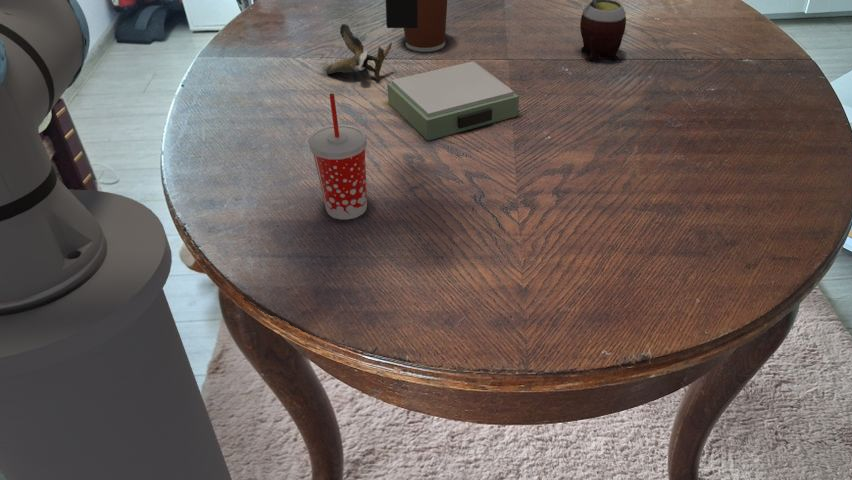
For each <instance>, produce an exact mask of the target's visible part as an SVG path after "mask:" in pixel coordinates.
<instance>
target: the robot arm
mask: <svg viewBox="0 0 852 480" xmlns="http://www.w3.org/2000/svg"><path fill="white" fill-rule="evenodd" d="M385 21H386V22H385V23H386V24H385V26H386V29H404V28H418V10H417V0H385ZM89 28H90V27H89V24H88V20H87V17H86V15H85V13H84V10H83V9H82V6H81V5H80V3H79V2H78V0H0V316H3V315H10V314H15V313H20V312H24V311H28V310H31V309H34V308H37V307H40V306H43V305H46V304H48V303H51V302H53V301H55V300H57V299H59V298H61V297H63V296H65V295H67V294H69V293H70V292H72V291H74V290H75V289H77V288H78V287H80V286H81V285H82V284H84V283H85V282H86V281H87V280H88V279H90V278H91V277H92V276H93V275H94V274H95V273H96V271H97V270H98V269H99V268H100V266H101V265H102V263H103V261H104V259H105V257H106V254H107V241H106V238H105V236H104V233H103V231H102V229H101V226H100V225H99V223H98V222H97V220H96V219H95V217H94V216H93V215H92V214H91V213H90V212H89V211H88V210H87V209H86V208H85V207H84V206H83V205H82V203H81V202H80V201H79V200H78V199H77V198H76V195H75V193H74V190H75V189H73V188H71V189H68V188H67V186H66V185H64V183H63V182H62V181H61V180H60V178H59V176H58V175H57V173H56V171H55V168H54V165H53V163H52V161H51V160H52V159H51V158H50V155H49V154H48V151H47V148H46V146H45V144H44V142H43V139H42V137H41V135H40V131H39V127H40V126H41V125H42V123H43V122H44V120H45V119H46V118H47V117H48V115H49V114H50V112H51V111H52V110H53V109H54V107H55V106H56V105H57V103H58V101H60V98H62V96H63V94H64V93H65V92H66V91H67V89H69V88H70V87H72V86H73V84H75V82H76V81H77V79H78V78H79V77H80V75H81V72H82V71H83V68H84V66H85V65H84V64H85V61H86V60H87V57H88V54H89V49H90V44H91V39H90V38H91V36H90V29H89Z"/></svg>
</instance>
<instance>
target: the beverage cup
mask: <svg viewBox="0 0 852 480" xmlns="http://www.w3.org/2000/svg"><path fill="white" fill-rule="evenodd" d="M329 102H330V109H331V116H332V124H331V125H325V126H322V127H319V129H316V130H314V131H313V132H312V133H311V134H310V135H309V137H308V140H307V143H308V145H309V146H308V148H309V150H310V152H311V153H312V155H313V159H314V163H315V167H316V172H317V177H318V180H319V181H318V182H319V185H320V189H321V194H322V198H323V202H324V207H325V211H326V213H327V215H328V216H330V217H331V218H333V219H336V220H351V219H356V218H359V217H361V216H362V215H363V214H364V213H366V211H367V207H368V198H367V197H368V196H367V195H368V193H367V170H366V165H367V164H366V148H367V144H368V141H367V139H368V138H367V134H366V133H365V131H364V130H363V129H361V128H360V127H358V126H355V125H350V124H339V122H338V113H337V106H336V98H335V93H329Z"/></svg>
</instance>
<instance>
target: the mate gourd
mask: <svg viewBox="0 0 852 480" xmlns="http://www.w3.org/2000/svg"><path fill="white" fill-rule="evenodd" d="M626 17H627V16H626V11H625V8H624V7H623V5H622V4H621V3H620V2H618V1H616V0H590V1H589V2H588V3H587V4H586V5H585V7H584V8H583V10H582V13H581V17H580V23H579V26H580V27H579V28H580V29H579V30H580V36H581V39H582V46H581V52H582V53H586V54H590V56H589V58H588V62H591V63H593V62H595V61H596V60H598V59H599V58H605V59H608V60H612V61H617V60H618V58H619V56H618V55H617V54H618V52H619V49H620V47H621V44H622V41H623V37H624V34H625V31H626V26H627V18H626Z"/></svg>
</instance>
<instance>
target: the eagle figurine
mask: <svg viewBox="0 0 852 480" xmlns="http://www.w3.org/2000/svg"><path fill="white" fill-rule="evenodd" d="M339 29H340V31H339V34H340V35H341V38H342V40H343V41H344V44H345V46H346V47H347V49H348V50H349V51H351V53H353V55H354V56H352V57H348V58H341V59H337V61H335V62H334V63H333V65H330V66H329V67H327V69H326V74H328V75H330V74H331V75H332V74H333V73H335V74H336V73H344V74H347V73H351V72H352V71H353V70H354V69H355V68H356V67H358V71H360V70H361V68H364V69H365V70H368V71H369V72H372V73H374V74H373V75H374V77H375V79H376V81H379V79H380V71H381V68H382V66H383V64H384V61H385V59H386V58H387V56H388V54H389V52H390V50H391V48H392V45H393V43H392V42H390V43H389V44H388V46H387V47H386V48H385V50H384V49H383V48H382V47H381V46H378V49H377V56H373V55H370V54H368V48H365V49H364V45H363V42H362V41H361V40H360V38H359V37H356V36H355V35H354V34H353V32H352V30H351V29H350V26H349V25H348V24H346V23H342V24H341V25H340V27H339ZM369 61H373V62H374V65H375V66H374V67H373V66H372V65H370V64H369Z"/></svg>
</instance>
